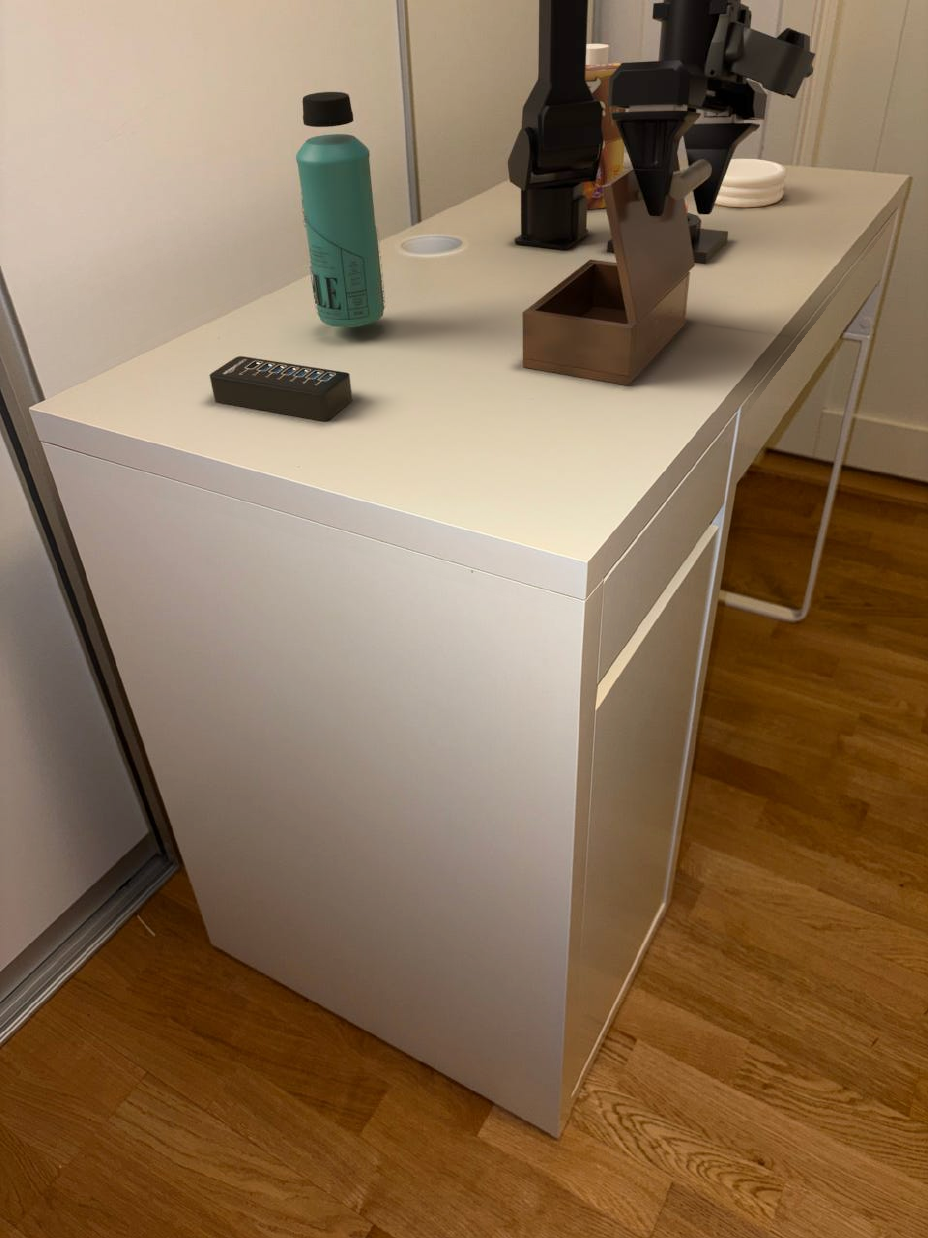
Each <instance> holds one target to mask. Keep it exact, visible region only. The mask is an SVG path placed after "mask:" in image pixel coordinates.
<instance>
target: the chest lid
mask: <svg viewBox="0 0 928 1238" xmlns="http://www.w3.org/2000/svg"><path fill="white" fill-rule="evenodd" d="M680 167H681V166H680V161H679V155H678V153H677V157H676V162H675V167H674V172H673V177H672V181H671V187H670V191H669V196H668V200H667V204H666V208H665V212H664V215H663V216H650V215H649V213H648V211H647V208H646V205H645V202H644V199H643V196H642V193H641V190H640V187H639V184H638V181H637V178H636V175H635V172H634V169H633V167H632V165H631V166H630V167H628V168H627V169H626V170H623V172H622V173H621V174H619V175H618V176H616V177H615V178H613V179H612V180H610V181H609V182H607V183H606V184H604V185H603V186H602V190H603V195H604V200H605V206H606V207H605V211H606V216H607V221H608V226H609V231H610V236H611V239H612V242H613V247H614V252H615V253H614V256H615V263H617V268H618V273H619V278H620V283H621V288H622V293H623V299H624V304H625V309H626V314H627V319H628V323H637V322H638V321H639V320H640V319H641V318H642V317H643V316H644V315H645V314H646V313H647V312H648V311H649V310H650V309H651V308H652V307H653V306H654V305H655V304H656V303H657V302H658V301H659V300H660V299H661V298H662V297H663V296H665V295H666V294H667V293H668V292H669V291H670V290H671V289H672V288H673V287H674V286H675V285H676V284H677V283H678V282H679V281H680V280H681V279H682V278H683V277H684V276H685V275H686V274H687V273H688V272H690V271H691V270H693V268H694V267H695V265H696V263H694V257H693V250H692V244H691V237H690V231H689V225H688V218H687V212H688V211H687V212H686V205H687V204H686V199H685V198H686V197H687V196H688V195H689V194H691V193H693V190H694V189H695V188H697V187H698V186H699V185H700V184H702V183H703V182H704V181H705V180H707V179H708V178H709V177H710V175H711V172H712V167H711V164H710V163H709V162H708V161H707V160H704V159H700V160H698V161H696V162H695V163H694V164H692V165H691V166H690V167H689V166H688V167H687V168H685V169H681V168H680ZM685 204H686V205H685Z"/></svg>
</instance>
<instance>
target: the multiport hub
mask: <svg viewBox="0 0 928 1238" xmlns="http://www.w3.org/2000/svg"><path fill="white" fill-rule="evenodd" d="M209 379H210V384H211V390H212V394H213V400H214V402H215V403H219V404H224V405H225V404H226V405H231V406H236V407H242V408H246V409H247V408H248V409H252V410H257V411H264V412H270V413H275V414H282V415H285V416H286V415H287V416H293V417H298V418H304V419H309V420H315V421H322V422H326V421H329V420H331V419H332V418H333V417H335V416H336V415H337V414H338V413H340V411H342V410H343V409H344V408H345V407H347V406H348V405H349V404H351V403H352V401H353V393H352V384H351V375H350V373H349V372H346V371H339V370H333V369H326V368H320V367H314V366H309V365H300V364H294V363H289V362H283V361H282V362H281V361H276V360H270V359H262V358H256V357H250V356H243V355H239V356H236V357H233V358H232V359H231V360H229V361H228V362H226V363H225V364H223V365H222V366H219V368H217V369H215V370H214V371H213V372H211V373H210V374H209Z"/></svg>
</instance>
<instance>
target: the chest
mask: <svg viewBox="0 0 928 1238" xmlns="http://www.w3.org/2000/svg"><path fill="white" fill-rule="evenodd" d="M690 276H691V272H690V271H689V272H688V273H687V274H686V275H685V276H684V277H683V278H682V279H681V280H680V281H679V282H678V283H677V284H676V285H675V286H674V287H673V288H672V289H671V290H670V291H669V292H668V293H667V294H666V295H665V296H663V297H662V298H661V299H660V300H659V301H658V302H657V303H656V304H655V305H654V306H653V307H652V308H651V309H650V310H649V311H648V312H647V313H646V314H645V315H644V316H643V317H642V318H641V319H640V320H639V321H638V322H637V323H628V319H627V314H626V309H625V304H624V299H623V293H622V288H621V283H620V278H619V273H618V268H617V262H613V261H606V260H598V259H589V260H588V261H586V262H585V263H584V264H582V265H581V266H580V267H579V268H578V269H576V270H575V271H574V272H572V273H571V274H570V275H568V276H567V277H566V278H564V279H563V280H562V281H561V282H559V283H557V285H556V286H554V287H553V288H552V289H550V290H549V291H548V292H546V293H545V295H543V296H541V297H540V298H539V299H538V300H537V301H535V302H534V303H533V304H532V305H530V306H529V307H527V308H526V309H525V310H523V312H522V368H526V369H532V370H537V371H543V372H548V373H549V372H550V373H555V374H560V375H566V376H572V377H577V378H582V379H589V380H595V381H600V382H606V383H612V384H617V385H622V386H630V385H631V383H632V382H633V381H635V379H636V378H637V377H638V376H639V375H640V374H641V373H642V372H643V370H645V368H646V367H647V366H648V365H649V364H650V363H651V361H653V360H654V358H655V357H657V355H658V354H660V352H661V351H662V350H663V349H664V347H666V345H667V344H668V343H669V342H670V341H671V340H672V339H673V338H674V337H675V335H676V334H677V333H678V332H679V331H680V330H681V329H682V328H683V327H684V326H685V325H686V318H687V317H686V315H687V308H688V299H689V296H688V295H689V288H690V287H689V286H690V279H691V278H690Z"/></svg>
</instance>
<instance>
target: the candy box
mask: <svg viewBox="0 0 928 1238" xmlns="http://www.w3.org/2000/svg"><path fill="white" fill-rule="evenodd" d="M620 65H621V62H608V64H595V65H586V82H587V84H588V86H589V88H590V90H591V92H592V94H593V96H594V98H595V100H599V101H600V103H601V105H602V108H603V114H602V124H601V128H602V133H603V139H604V143H603V148H602V153H601V158H600V163H599V168H598V173H597V177H596V181H595V182H584V191H583V196H586V197H587V210H593V209H594V210H595V209H603V208H605V209H606V206H605V200H604V195H603V190H602V186H603V185H604V184H606V183H607V182H609V181H610V180H612V179H613V178H615V177H616V176H618V175H619V174H621V173H622V172H624V161H625V156H624V155H625V145H624V142H623V140H622V137H621V135H620V132H619V130H618V127H617V125H616V122H615V121H612V118H611V113H614V112H627V111H626V110H627V109H620V108H614V107H608V106H607V105H608V90H609V78H610V76H611V75H612V74H613V73H614V72H615V70H616V69H617V68H618V67H619V66H620Z"/></svg>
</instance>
